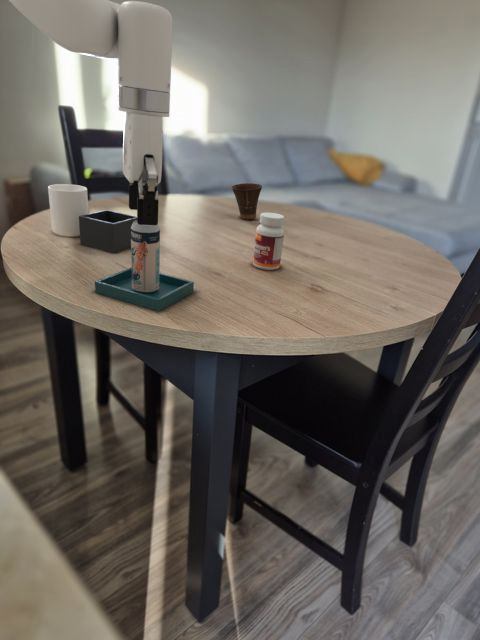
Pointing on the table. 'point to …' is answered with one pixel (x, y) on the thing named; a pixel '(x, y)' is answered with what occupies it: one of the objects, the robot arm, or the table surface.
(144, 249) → the beer can
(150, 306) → the tray
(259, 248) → the pill bottle
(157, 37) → the robot arm
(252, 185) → the cup
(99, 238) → the bin
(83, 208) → the mug
